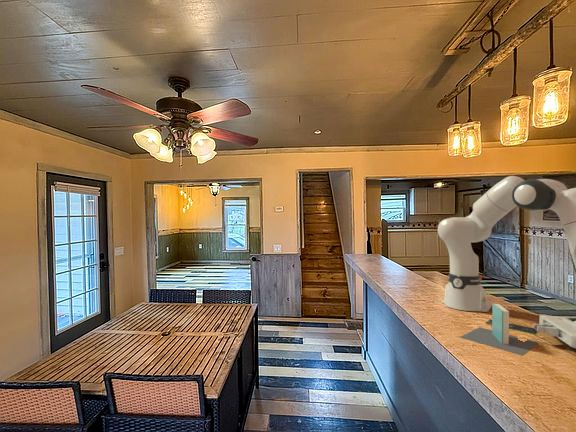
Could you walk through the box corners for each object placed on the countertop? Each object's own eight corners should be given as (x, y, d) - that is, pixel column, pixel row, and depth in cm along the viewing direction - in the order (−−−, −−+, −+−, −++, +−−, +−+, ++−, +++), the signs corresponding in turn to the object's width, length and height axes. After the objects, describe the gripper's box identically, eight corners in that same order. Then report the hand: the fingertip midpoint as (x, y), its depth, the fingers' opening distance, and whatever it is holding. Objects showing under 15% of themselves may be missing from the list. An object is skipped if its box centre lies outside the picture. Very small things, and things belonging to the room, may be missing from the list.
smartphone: (490, 318, 122) (539, 329, 111) (490, 321, 122) (539, 331, 111) (484, 323, 116) (535, 334, 106) (484, 325, 116) (535, 337, 106)
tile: (498, 334, 106) (498, 304, 106) (508, 344, 97) (509, 311, 97) (492, 333, 106) (492, 303, 106) (501, 343, 97) (502, 311, 98)
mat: (479, 328, 113) (479, 327, 113) (539, 343, 99) (539, 342, 99) (459, 338, 103) (459, 337, 103) (522, 357, 89) (522, 355, 89)
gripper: (570, 312, 105) (521, 308, 109) (614, 334, 85) (552, 328, 89) (570, 331, 105) (521, 327, 109) (613, 358, 85) (552, 351, 89)
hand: (535, 327), depth 99 cm, fingers closed
